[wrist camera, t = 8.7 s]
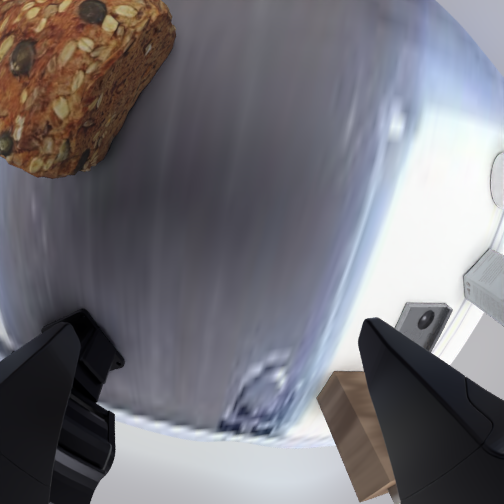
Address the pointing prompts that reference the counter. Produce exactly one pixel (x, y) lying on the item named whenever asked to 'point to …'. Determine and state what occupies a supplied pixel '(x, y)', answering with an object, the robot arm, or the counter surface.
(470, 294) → the skincare box
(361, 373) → the post
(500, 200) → the spray bottle
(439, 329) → the flange strip
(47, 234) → the counter surface
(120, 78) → the bread
